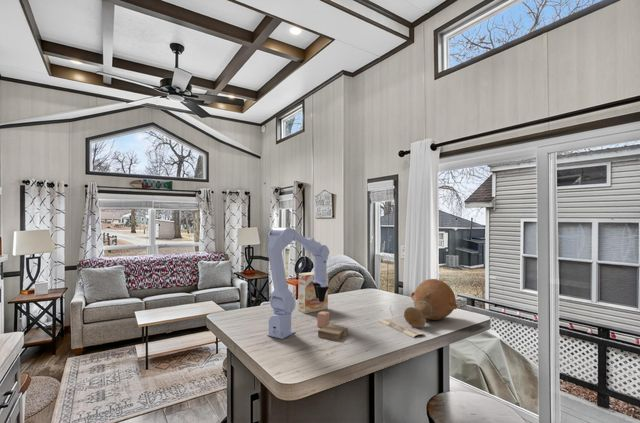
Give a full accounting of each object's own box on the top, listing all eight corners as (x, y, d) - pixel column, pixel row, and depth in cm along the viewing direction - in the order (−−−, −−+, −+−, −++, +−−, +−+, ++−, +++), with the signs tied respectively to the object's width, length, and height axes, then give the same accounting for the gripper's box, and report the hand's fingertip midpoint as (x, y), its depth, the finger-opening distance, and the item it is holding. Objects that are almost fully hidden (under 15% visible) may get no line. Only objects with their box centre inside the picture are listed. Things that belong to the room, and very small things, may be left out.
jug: (469, 295, 156) (446, 316, 134) (446, 321, 165) (421, 344, 142) (435, 267, 166) (408, 282, 144) (415, 293, 175) (387, 311, 152)
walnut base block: (338, 342, 127) (338, 334, 128) (318, 337, 132) (318, 330, 132) (347, 335, 135) (347, 327, 135) (328, 331, 140) (328, 324, 140)
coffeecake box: (304, 313, 165) (305, 274, 166) (297, 310, 171) (297, 273, 171) (328, 309, 174) (328, 272, 174) (320, 306, 179) (320, 270, 180)
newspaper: (425, 337, 134) (425, 333, 134) (411, 340, 131) (411, 335, 131) (389, 321, 155) (389, 317, 155) (376, 323, 152) (376, 319, 152)
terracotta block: (325, 328, 142) (325, 314, 142) (317, 327, 144) (317, 313, 144) (329, 326, 146) (329, 312, 146) (321, 324, 148) (321, 311, 148)
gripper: (332, 272, 146) (331, 303, 146) (325, 268, 161) (325, 296, 160) (316, 272, 145) (316, 303, 145) (311, 268, 159) (311, 296, 159)
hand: (319, 299), depth 152 cm, fingers open, 7 cm apart
